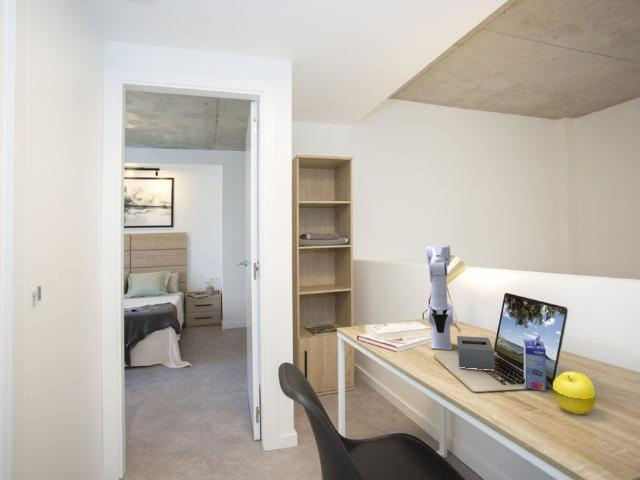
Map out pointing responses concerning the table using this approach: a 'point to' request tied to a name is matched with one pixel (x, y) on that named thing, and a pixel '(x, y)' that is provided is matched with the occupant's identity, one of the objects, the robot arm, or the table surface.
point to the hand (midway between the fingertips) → (440, 330)
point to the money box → (475, 352)
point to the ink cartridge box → (535, 364)
